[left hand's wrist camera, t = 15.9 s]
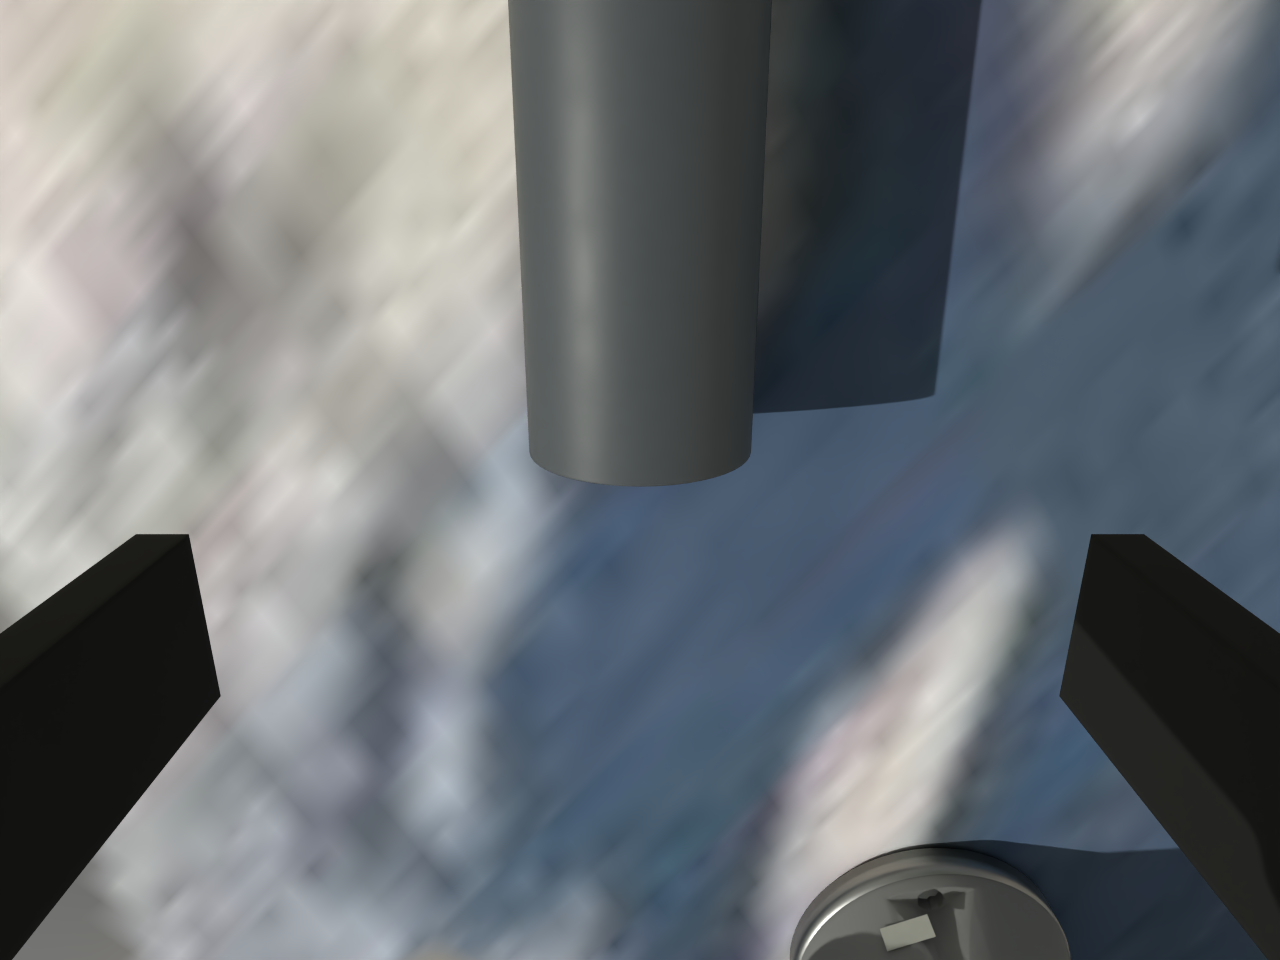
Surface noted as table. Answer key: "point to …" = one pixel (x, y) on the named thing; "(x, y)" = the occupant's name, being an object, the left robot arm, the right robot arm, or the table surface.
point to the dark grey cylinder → (640, 232)
